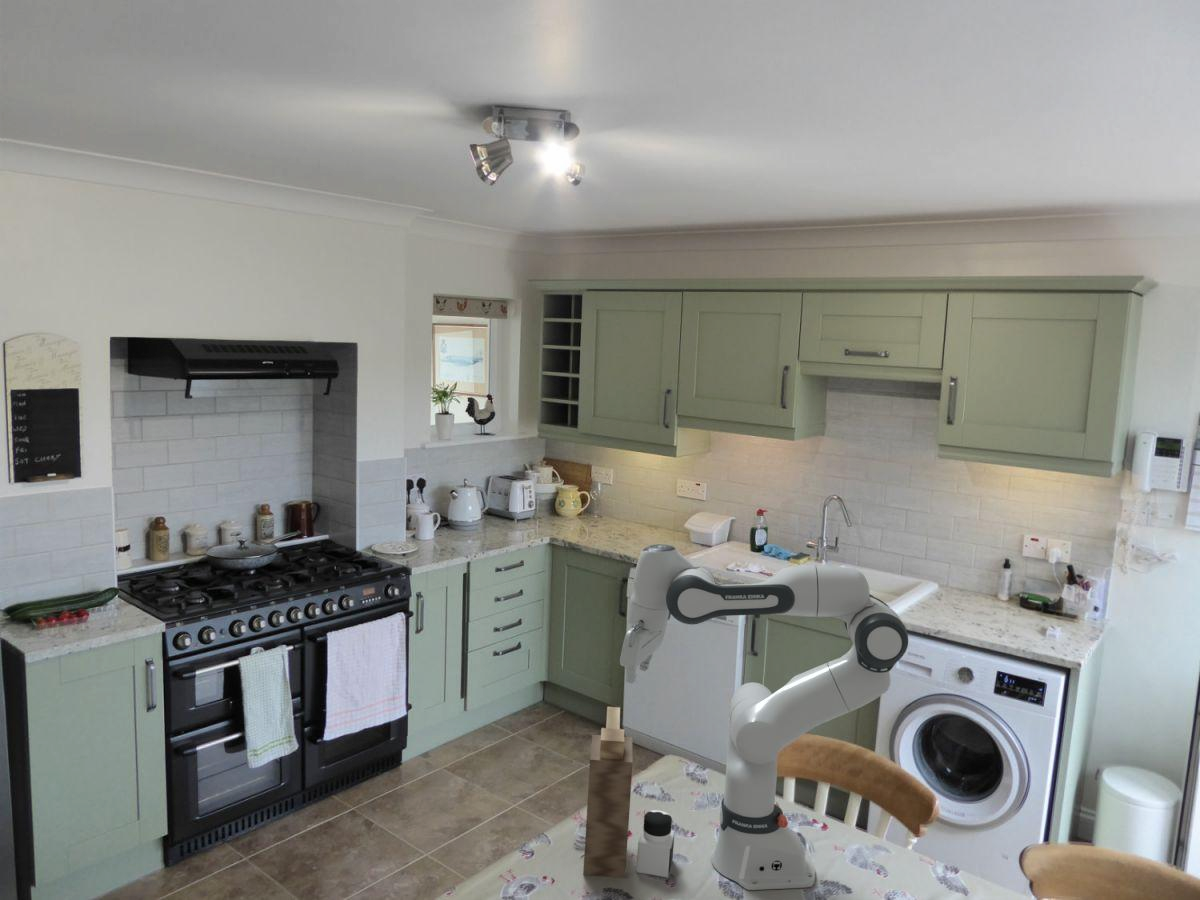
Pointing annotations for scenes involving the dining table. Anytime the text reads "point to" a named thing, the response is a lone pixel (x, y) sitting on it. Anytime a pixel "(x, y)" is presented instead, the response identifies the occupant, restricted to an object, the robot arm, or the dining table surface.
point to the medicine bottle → (656, 844)
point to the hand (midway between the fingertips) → (637, 675)
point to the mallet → (612, 736)
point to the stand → (608, 812)
